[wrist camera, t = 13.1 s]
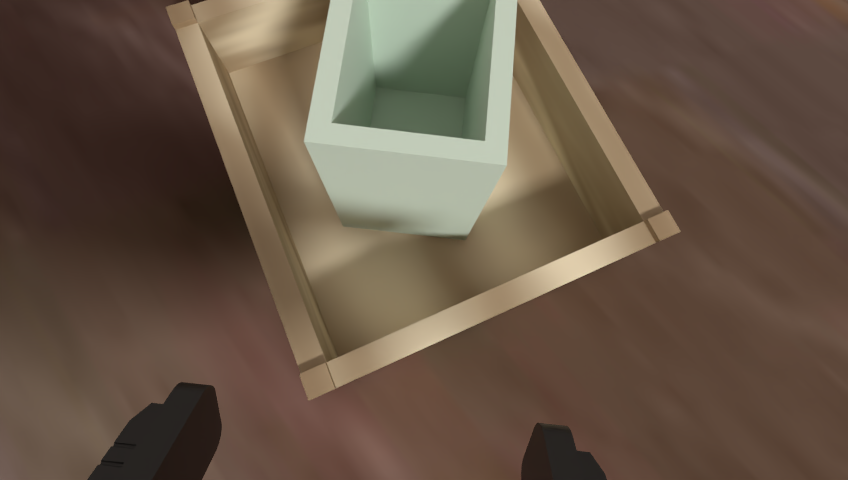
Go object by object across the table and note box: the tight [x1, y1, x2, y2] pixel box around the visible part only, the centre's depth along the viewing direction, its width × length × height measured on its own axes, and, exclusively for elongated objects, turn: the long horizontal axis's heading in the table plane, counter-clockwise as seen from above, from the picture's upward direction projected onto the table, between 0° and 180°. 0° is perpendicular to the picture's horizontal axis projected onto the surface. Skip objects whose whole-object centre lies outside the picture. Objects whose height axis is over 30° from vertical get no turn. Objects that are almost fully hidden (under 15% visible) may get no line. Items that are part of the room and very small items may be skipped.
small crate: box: [304, 0, 517, 240], centre depth 18 cm, size 6×8×9 cm
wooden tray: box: [166, 0, 681, 400], centre depth 21 cm, size 16×18×5 cm
